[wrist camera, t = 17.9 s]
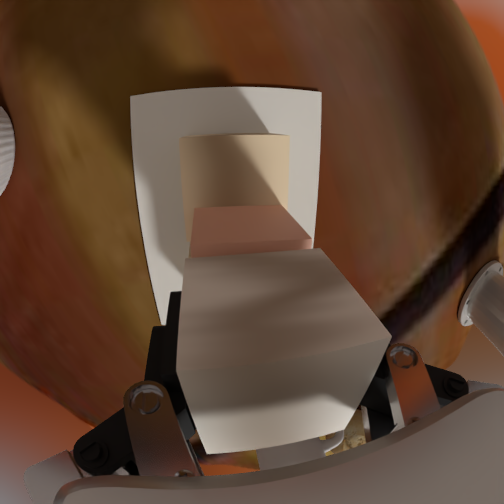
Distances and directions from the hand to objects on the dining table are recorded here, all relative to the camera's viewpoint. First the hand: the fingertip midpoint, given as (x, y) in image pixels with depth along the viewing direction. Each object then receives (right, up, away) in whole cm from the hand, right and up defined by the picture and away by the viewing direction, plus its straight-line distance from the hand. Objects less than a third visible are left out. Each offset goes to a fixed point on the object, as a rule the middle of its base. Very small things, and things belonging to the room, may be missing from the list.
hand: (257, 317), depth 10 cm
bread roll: (+18, -29, +32) cm, 47 cm away
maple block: (-2, +8, +9) cm, 12 cm away
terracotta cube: (-1, +3, +6) cm, 7 cm away
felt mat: (-2, +5, +11) cm, 12 cm away
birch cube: (0, 0, 0) cm, 1 cm away
